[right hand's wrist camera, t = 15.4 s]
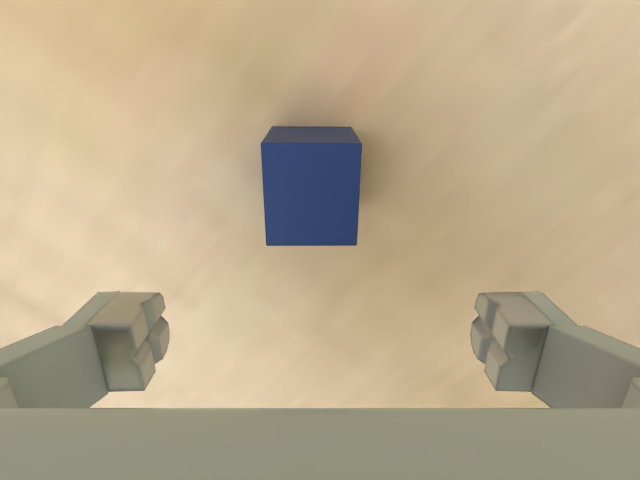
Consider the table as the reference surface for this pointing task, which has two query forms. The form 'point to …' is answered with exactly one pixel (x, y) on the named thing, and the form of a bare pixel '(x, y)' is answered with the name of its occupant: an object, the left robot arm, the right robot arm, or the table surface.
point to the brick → (311, 185)
